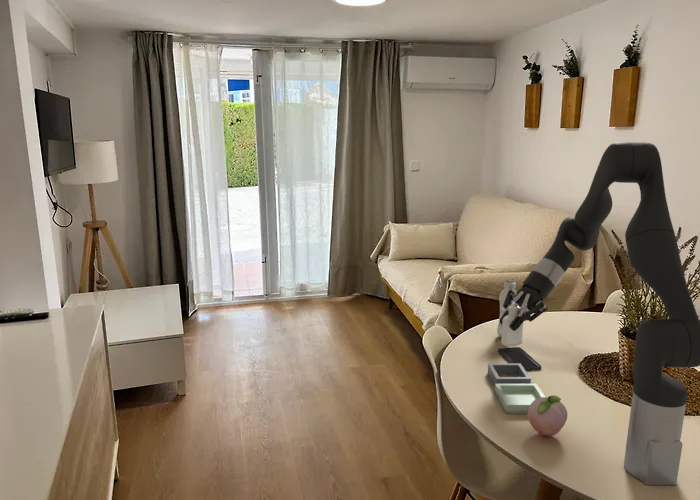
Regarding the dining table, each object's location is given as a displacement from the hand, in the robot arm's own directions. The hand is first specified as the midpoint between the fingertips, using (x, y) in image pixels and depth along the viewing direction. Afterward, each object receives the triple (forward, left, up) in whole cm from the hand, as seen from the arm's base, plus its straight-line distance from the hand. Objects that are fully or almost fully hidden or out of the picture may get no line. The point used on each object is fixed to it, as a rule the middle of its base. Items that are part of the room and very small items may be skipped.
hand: (506, 326), depth 142 cm
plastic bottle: (+31, -10, -17) cm, 37 cm away
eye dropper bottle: (+1, -2, -6) cm, 6 cm away
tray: (-11, -2, -17) cm, 20 cm away
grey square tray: (+1, -2, -17) cm, 17 cm away
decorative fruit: (-26, -3, -17) cm, 31 cm away
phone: (+14, -9, -17) cm, 24 cm away
